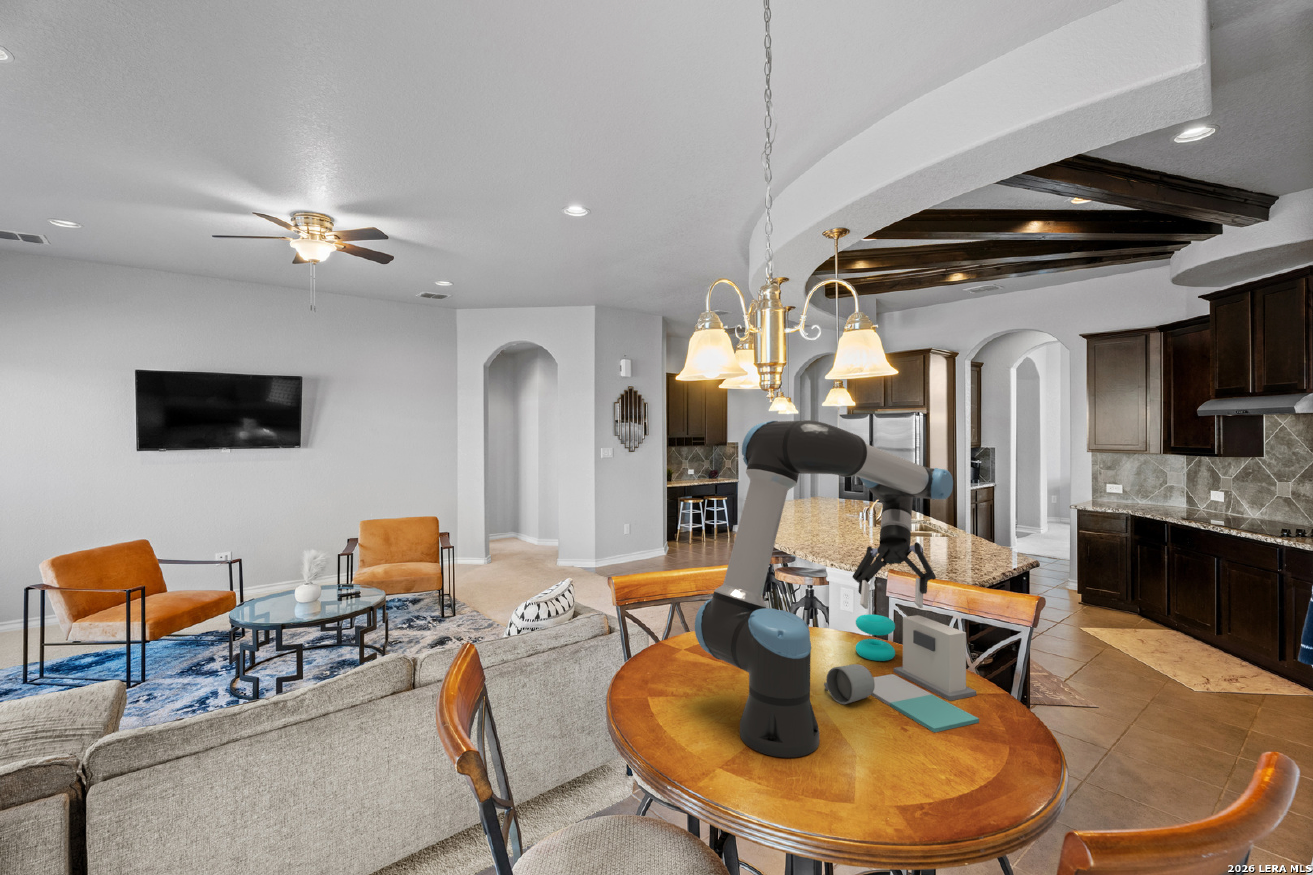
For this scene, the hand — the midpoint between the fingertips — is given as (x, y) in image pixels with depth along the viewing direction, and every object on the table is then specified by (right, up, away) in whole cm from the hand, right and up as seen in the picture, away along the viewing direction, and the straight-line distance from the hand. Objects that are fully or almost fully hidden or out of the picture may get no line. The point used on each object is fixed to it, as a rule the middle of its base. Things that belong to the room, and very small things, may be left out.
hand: (890, 606), depth 141 cm
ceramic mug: (-15, -18, -11) cm, 25 cm away
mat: (-1, -17, -13) cm, 22 cm away
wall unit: (+9, -17, -3) cm, 20 cm away
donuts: (+2, -18, +14) cm, 23 cm away
